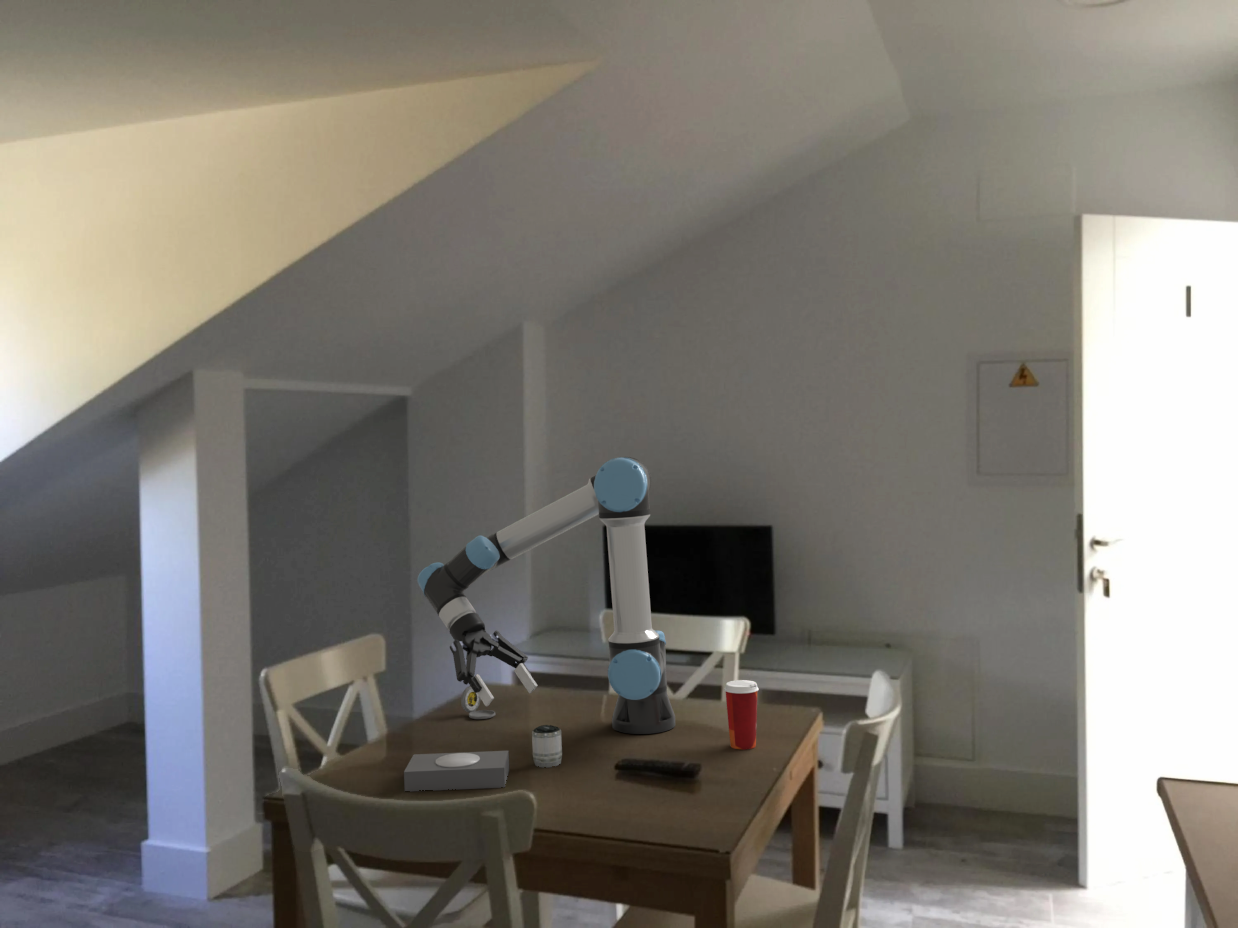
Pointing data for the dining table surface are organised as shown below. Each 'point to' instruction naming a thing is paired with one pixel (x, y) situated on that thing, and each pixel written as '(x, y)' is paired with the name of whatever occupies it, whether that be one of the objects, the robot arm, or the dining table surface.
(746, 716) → the paper cup
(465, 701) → the pocket watch
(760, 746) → the dining table surface
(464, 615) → the robot arm
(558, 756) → the camera lens
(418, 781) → the box with white oval
